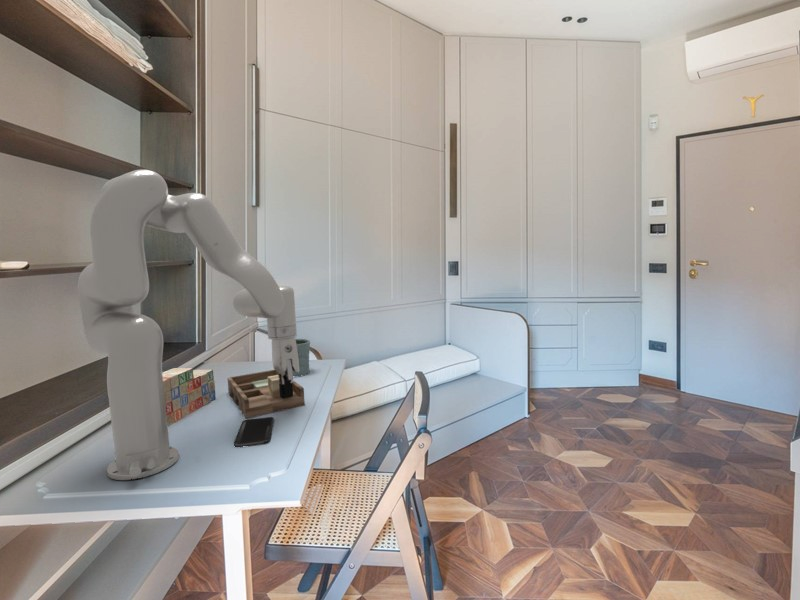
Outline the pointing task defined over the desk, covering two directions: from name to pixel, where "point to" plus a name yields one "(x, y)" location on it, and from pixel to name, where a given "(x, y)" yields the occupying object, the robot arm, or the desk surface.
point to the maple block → (273, 386)
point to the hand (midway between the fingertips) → (286, 396)
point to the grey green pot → (302, 356)
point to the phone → (254, 432)
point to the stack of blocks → (186, 391)
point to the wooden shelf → (261, 394)
